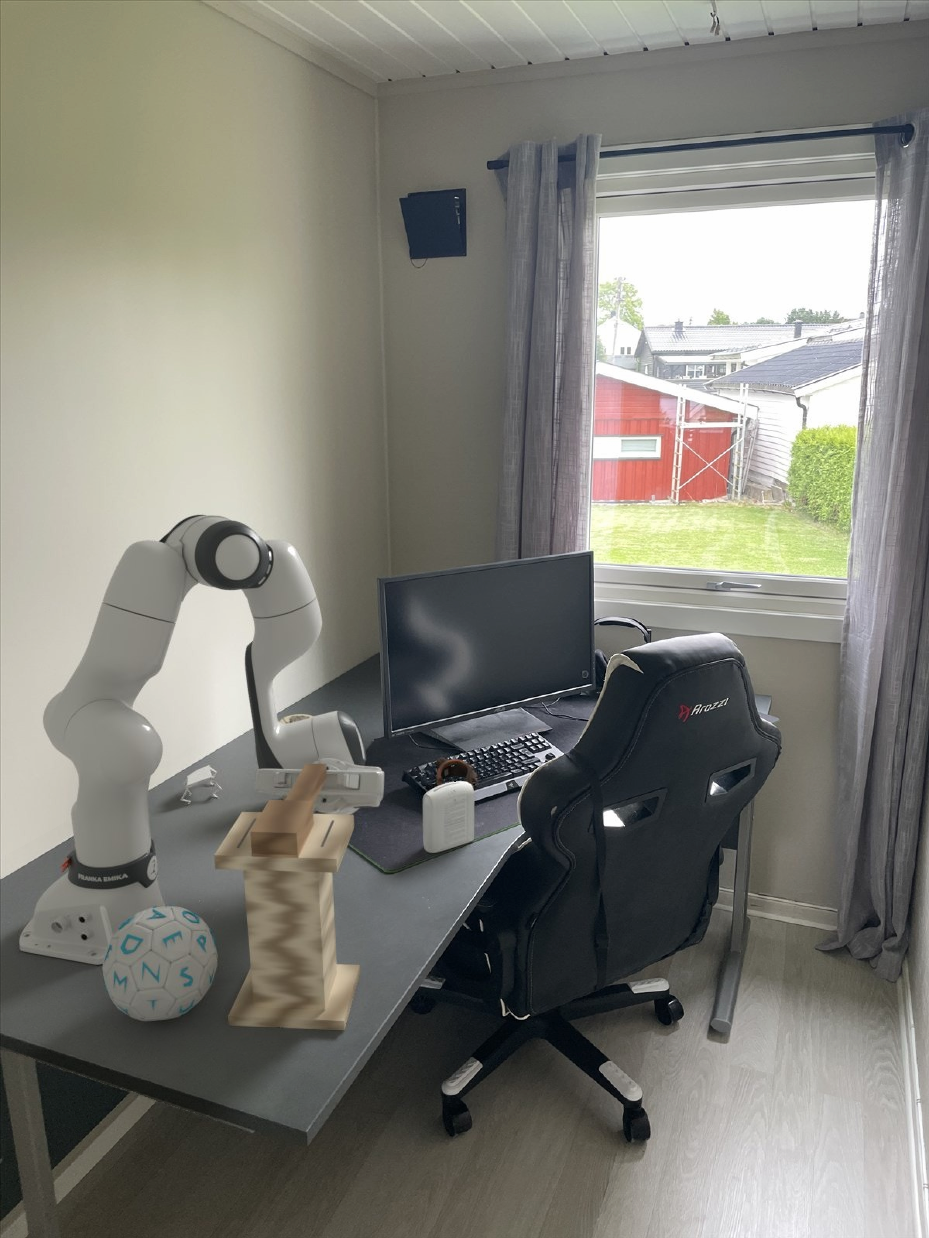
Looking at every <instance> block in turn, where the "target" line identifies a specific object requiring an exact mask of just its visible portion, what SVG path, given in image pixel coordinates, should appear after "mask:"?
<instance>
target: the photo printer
mask: <svg viewBox="0 0 929 1238" xmlns="http://www.w3.org/2000/svg"><path fill="white" fill-rule="evenodd" d="M422 797H423V798H422V839H423V840H422V843H423V846H424V850H425V852H427V853H430V854H435V853H440V852H443V851H446V850H450V849H452V848H456V847H458V846H461V845H466V844H468V843H471V842H472V841H474V839H475V792H474V788H473V787H472V785H471V784H469V783H468V782H464V781H456V782H454V781H450V782H449V781H448V782H445V784H442V785H440V786H438V785H437V786H435V787H434V788H432V789H429V790H428V791H427V792H426V793H425V794H424V795H423V796H422Z"/></svg>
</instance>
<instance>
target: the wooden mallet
mask: <svg viewBox="0 0 929 1238" xmlns="http://www.w3.org/2000/svg"><path fill="white" fill-rule="evenodd" d="M326 778H327V769H326V764H309V763H306V764H305V766H304V767H303V769H302V771H301V773H300V774H299V776H298V778H297V780H296V781H295V783H294V785H293V787H292V788H291V790H290V792H289V794H288V796H287V797H286V799H285V800H283V799H269V800H268V802H267V803H266V804H265V806H264V808H263V810H262V813H261V815H260V816H259V818H258V820H257V821H256V823H255V825H254V826H253V828H252V830H251V831H250V835H251V848H252V854H251V855H252V857H285V858H298V857H299V855H300V853H301V851H302V849H303V847H304V845H305V842H306V840H307V838H308V836H309V834H310V832H311V830H312V828H313V825H314V818H313V814H314V809H313V804H314V802H315V800H316V798H317V796H318V794H319V792H320V790H321V788H322V786H323V784H324V782H325V780H326Z"/></svg>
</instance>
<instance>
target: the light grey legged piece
mask: <svg viewBox="0 0 929 1238" xmlns="http://www.w3.org/2000/svg"><path fill="white" fill-rule="evenodd" d="M217 772H218V771H216V770H215V769H214V768H212V766H211V764H208V765H206V766H203V767H201V768H198V769H196V770H195V771H193V772H191V773H190V774H189V775H187V776H186V779H185V780H184V782H183V784H182V786H183V788H185V790H184V792H183V795H182V796H181V797H180V801H182V802H186V803H187V804H189V805H190V803H191V800H188V799H185V797H186V795H187V793H188V794H189V796H190V797H191V795H192V792H191V790H190V789H189V788H192V787H193V786H196V785H199V784H201V783H205V782H207V781H209V784H210V785H211V786H213V784H215V786H216V789H215V790H214V791H213V792H211V795H213V797H214V798H215V797H218V796H217V795H216V794H217V793H218V792H220V791H222V790H223V789H222V787H221V785H219V784H218V783H217V782H216V781H215V780H214V779H215V776H216V774H217ZM212 773H213V774H212ZM189 796H188V797H189Z"/></svg>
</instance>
